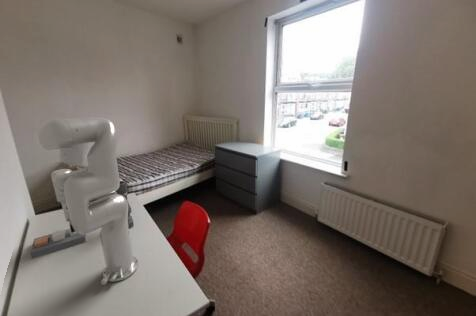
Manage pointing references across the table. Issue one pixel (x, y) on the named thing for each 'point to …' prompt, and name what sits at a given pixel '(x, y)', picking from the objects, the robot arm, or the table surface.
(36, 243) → the terracotta key
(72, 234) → the sage key
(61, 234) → the cream key
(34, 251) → the keypad
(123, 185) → the candle holder
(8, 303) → the table surface
